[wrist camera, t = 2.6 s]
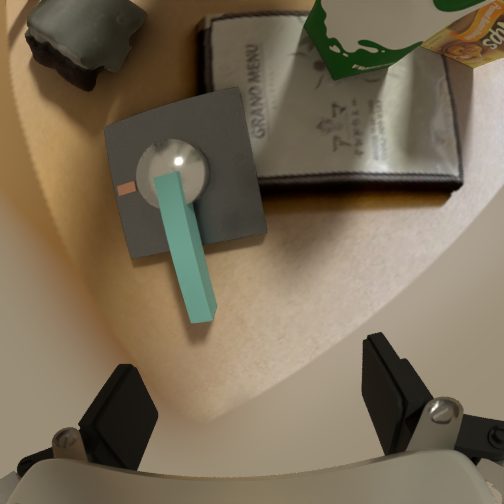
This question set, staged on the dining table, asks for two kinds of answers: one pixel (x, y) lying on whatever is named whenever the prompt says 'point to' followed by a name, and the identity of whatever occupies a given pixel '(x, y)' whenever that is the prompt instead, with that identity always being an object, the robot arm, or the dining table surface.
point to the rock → (83, 36)
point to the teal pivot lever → (180, 216)
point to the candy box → (472, 36)
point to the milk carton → (377, 30)
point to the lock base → (219, 160)
